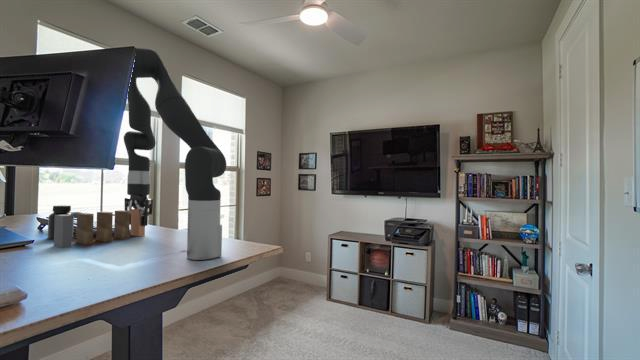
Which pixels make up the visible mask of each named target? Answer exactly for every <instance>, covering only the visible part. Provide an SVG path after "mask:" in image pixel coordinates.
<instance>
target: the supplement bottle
mask: <svg viewBox="0 0 640 360" xmlns="http://www.w3.org/2000/svg"><path fill="white" fill-rule="evenodd" d="M71 211H72V205H53V206H52V213H51V214H49V216H48V219H47V240H51V241H54V224H55V215H72V238H74V226H75V225H74V222H75V215H74V214H73V213H71Z"/></svg>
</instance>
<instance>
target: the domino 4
mask: <svg viewBox="0 0 640 360" xmlns="http://www.w3.org/2000/svg"><path fill="white" fill-rule="evenodd" d="M143 212H144V211H143ZM129 236H131V237H132V236H133V237H143V236H144V237H145V236H146V226H141V213H140V211H138V209H133V210H131V225H130V232H129Z"/></svg>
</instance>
